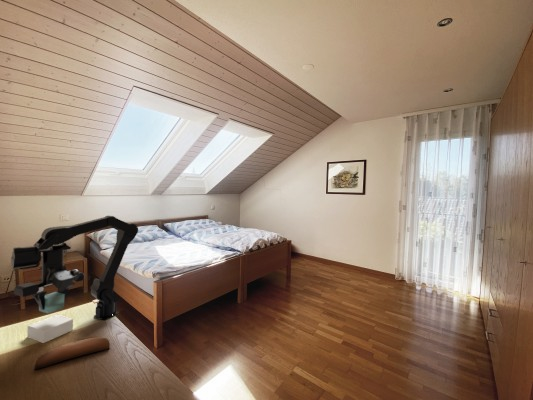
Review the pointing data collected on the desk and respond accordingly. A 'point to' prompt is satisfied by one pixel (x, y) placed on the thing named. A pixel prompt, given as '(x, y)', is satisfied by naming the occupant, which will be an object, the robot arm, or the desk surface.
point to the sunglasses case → (71, 351)
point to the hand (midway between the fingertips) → (51, 306)
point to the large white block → (49, 328)
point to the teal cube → (53, 302)
